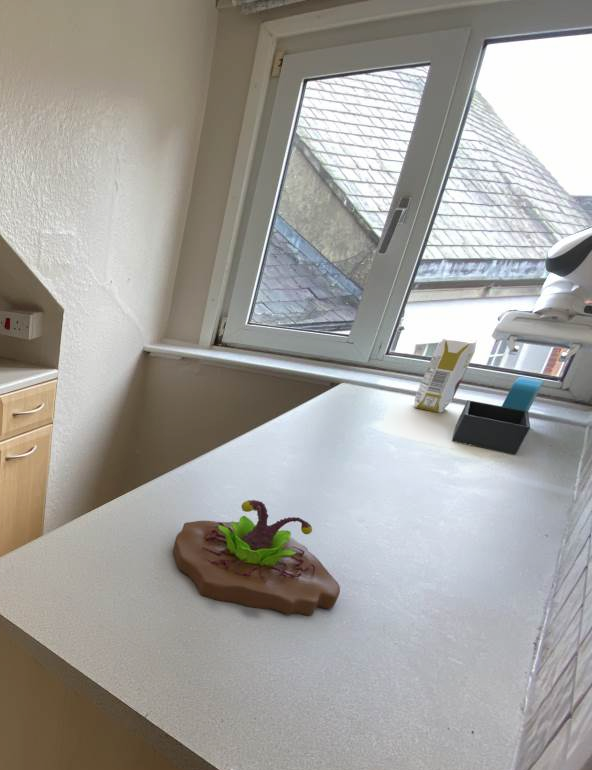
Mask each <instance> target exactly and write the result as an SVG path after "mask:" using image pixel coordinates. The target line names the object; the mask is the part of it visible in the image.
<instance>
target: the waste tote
mask: <svg viewBox="0 0 592 770" xmlns="http://www.w3.org/2000/svg"><path fill="white" fill-rule="evenodd" d="M529 414H530V413H529V411H523V410H518V409H512V408H507V407H502V405H495V404H491V403H485V402H479V401H473V400H466V403H465V405H464V407H463V409H462V411H461V413H460V415H459V418H458V420H457V422H456V424H455V427H454V431H453V434H452V438H451V441H452V442H455V441H457V442H456V443H460V442H461V443H460V444H464V443H466V444H465V445H469V444H471V445H469V446H473V445H474V446H473V447H478V448H483V449H486V450H491V451H495V452H500V453H503V454H508V455H513V456H516V455H517V453H518V451H519V450H520V448H521V445H522V444H523V442H524V440H525V439H526V437H527V434H528V433H529V431H530V429H531V423H530V416H529Z"/></svg>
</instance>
